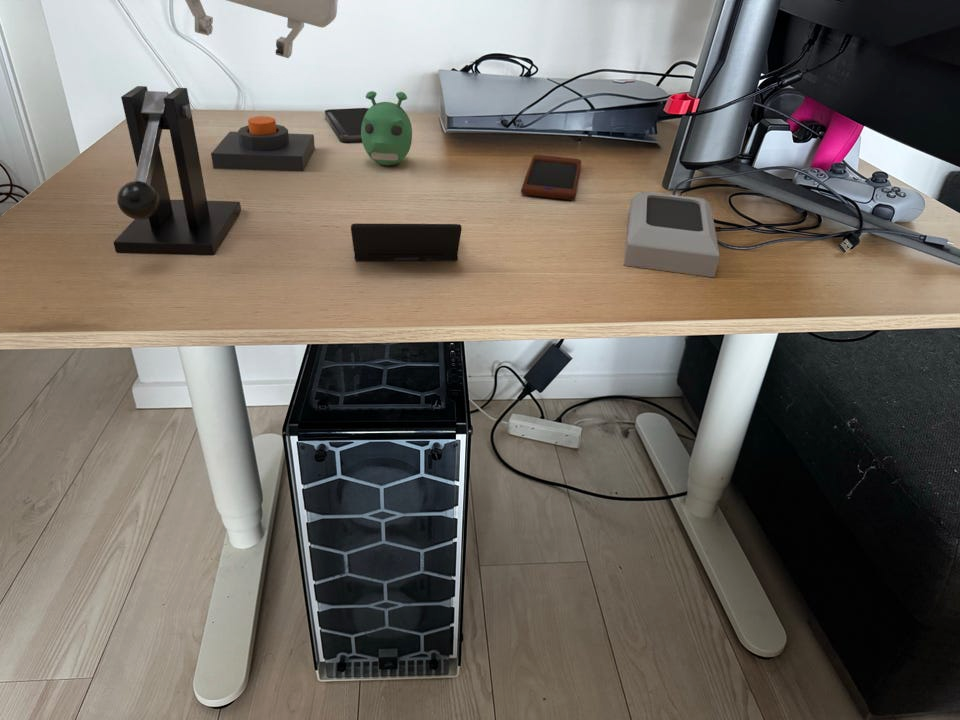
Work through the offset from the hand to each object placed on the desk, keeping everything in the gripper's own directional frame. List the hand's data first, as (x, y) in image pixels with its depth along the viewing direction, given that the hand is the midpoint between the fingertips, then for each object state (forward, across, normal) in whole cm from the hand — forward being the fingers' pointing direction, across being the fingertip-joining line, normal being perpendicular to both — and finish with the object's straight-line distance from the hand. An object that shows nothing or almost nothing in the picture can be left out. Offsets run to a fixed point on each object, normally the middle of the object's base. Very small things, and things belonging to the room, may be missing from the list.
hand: (243, 44), depth 83 cm
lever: (+7, +1, +21) cm, 22 cm away
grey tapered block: (+5, -54, +12) cm, 55 cm away
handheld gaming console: (+11, -25, +20) cm, 34 cm away
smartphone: (+9, -41, -7) cm, 42 cm away
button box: (+17, -1, -8) cm, 19 cm away
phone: (+16, -11, -25) cm, 31 cm away
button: (+13, -1, -8) cm, 16 cm away
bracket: (+16, 0, +18) cm, 24 cm away
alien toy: (+14, -18, -8) cm, 24 cm away
